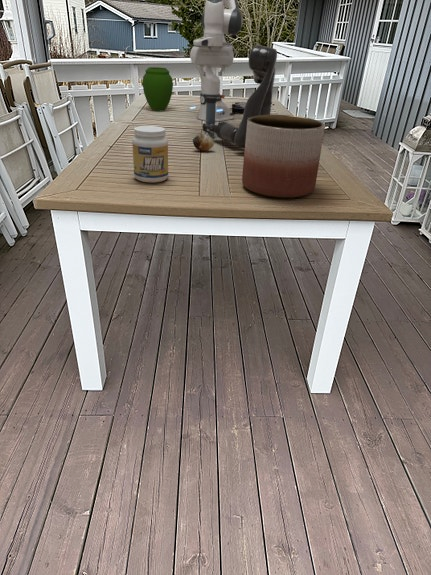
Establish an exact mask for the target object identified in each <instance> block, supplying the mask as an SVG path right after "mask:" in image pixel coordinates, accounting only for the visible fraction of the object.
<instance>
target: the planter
mask: <svg viewBox="0 0 431 575" xmlns="http://www.w3.org/2000/svg"><path fill="white" fill-rule="evenodd" d="M325 130H326V124H325V122H322V121H321V120H318V119H314V118H311V117H306V116H300V115H292V114H291V115H290V114H270V115H257V116H252V117H250V118H248V120H247V131H246V142H245V148H244V152H243V162H242V163H243V164H242V174H241V182H242V185H243V186H244V187H245V188H246V189H247V190H249V191H250V192H251V193H255V194H257V195H259V196H264V197H268V198H275V199H296V198H301V197H304V196H307V195H309V194H311V193H312V192H314V190H315V188H316V184H317V178H318V173H319V167H320V166H319V165H320V160H321V154H322V149H323V148H322V147H323V141H324V135H325Z"/></svg>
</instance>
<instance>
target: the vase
mask: <svg viewBox="0 0 431 575" xmlns="http://www.w3.org/2000/svg"><path fill="white" fill-rule="evenodd" d="M141 84H142V89H143V94H144V97H145V100H146V102H147V104H148V107H149V108H150V109H151V110H152V111H154V112H164V111H165V110H166V109H167V108H168V106H169V104H170V102H171V99H172V95H173V88H174V82H173V77H172V76H171V74H170V70H169V69H167V67H155V66H154V67H151V66H149V67H148V68H147V69H145V73H144V74H143V76H142V81H141Z"/></svg>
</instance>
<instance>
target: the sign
mask: <svg viewBox="0 0 431 575" xmlns="http://www.w3.org/2000/svg"><path fill="white" fill-rule="evenodd" d="M246 102H247V101H238V102H237V101H236V102H234V103H231V113H235V112H238V113H237V114H239V115H240V114H241V115H243V113H244V109H245V105H246Z"/></svg>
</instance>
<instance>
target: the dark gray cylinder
mask: <svg viewBox="0 0 431 575" xmlns="http://www.w3.org/2000/svg"><path fill="white" fill-rule="evenodd" d="M215 112H216V103H209V102H206V120H205V124H207V125H211V124H214V125H216V121H215ZM208 127H209V126H208ZM212 128H213V126H212ZM215 134H216V133H214V132H210V133H208V135H209V136H210V137H211V138H212V139H215V137H216V136H215Z"/></svg>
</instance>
